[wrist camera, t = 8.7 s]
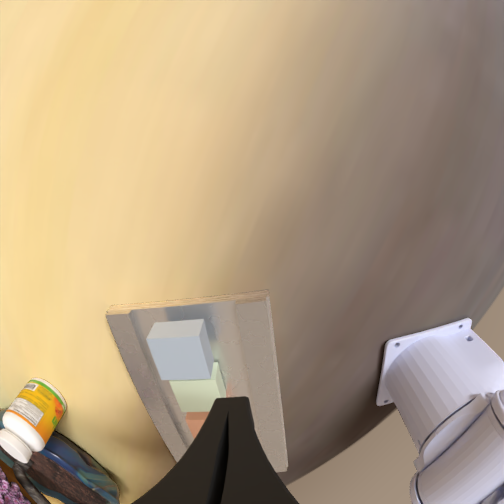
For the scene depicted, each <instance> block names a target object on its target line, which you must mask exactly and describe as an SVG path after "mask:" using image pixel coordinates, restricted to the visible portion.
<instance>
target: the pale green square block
mask: <svg viewBox="0 0 504 504" xmlns="http://www.w3.org/2000/svg"><path fill="white" fill-rule="evenodd" d="M169 382H170V385H171V387H172V390H173V392H174V395H175V397H176V399H177V402H178V404H179V407H180V409H181V411H182V412H210V410H211V408H212V405H213V403H214V401H215V399H216V398H226V390H225V387H224V383H223V379H222V375H221V372H220V368H219V364H218V362H214V363H213V369H212V375H211V379H191V380H169Z"/></svg>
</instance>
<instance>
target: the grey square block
mask: <svg viewBox="0 0 504 504" xmlns="http://www.w3.org/2000/svg"><path fill="white" fill-rule="evenodd" d="M146 340H147V343H148V346H149V348H150V351H151V354H152V356H153V359H154V362H155V364H156V367H157V369H158V372H159V375H160V377H161V379H162V380H191V379H211V375H212V369H213V363H214V358H213V354H212V350H211V346H210V342H209V338H208V334H207V330H206V326H205V322H204V319H196V320H184V321H170V322H156V323H154V325H153V327H152V329H151V331H150V333H149V334H148V336H147V338H146Z"/></svg>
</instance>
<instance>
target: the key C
mask: <svg viewBox="0 0 504 504" xmlns="http://www.w3.org/2000/svg"><path fill="white" fill-rule="evenodd" d="M208 414H209V412H187V414H186V419H185V420H186V423H187V425H188V427H189V429H190V431H191V433H192V436H193V438H194V439H195V437H196V436H197V434H198V432H199V431H200V429H201V427H202V425H203V424H204V422H205V420H206V418H207V416H208Z"/></svg>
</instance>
